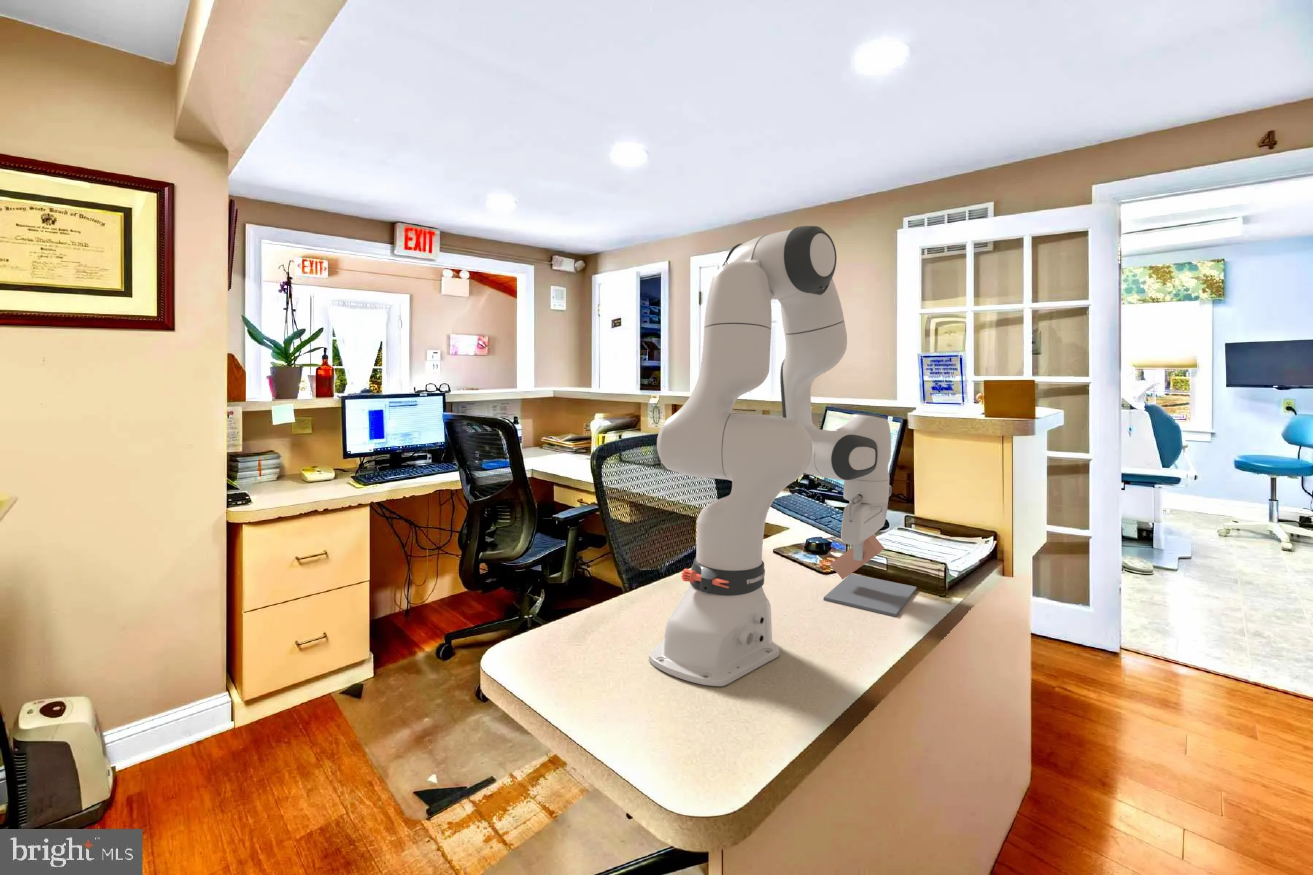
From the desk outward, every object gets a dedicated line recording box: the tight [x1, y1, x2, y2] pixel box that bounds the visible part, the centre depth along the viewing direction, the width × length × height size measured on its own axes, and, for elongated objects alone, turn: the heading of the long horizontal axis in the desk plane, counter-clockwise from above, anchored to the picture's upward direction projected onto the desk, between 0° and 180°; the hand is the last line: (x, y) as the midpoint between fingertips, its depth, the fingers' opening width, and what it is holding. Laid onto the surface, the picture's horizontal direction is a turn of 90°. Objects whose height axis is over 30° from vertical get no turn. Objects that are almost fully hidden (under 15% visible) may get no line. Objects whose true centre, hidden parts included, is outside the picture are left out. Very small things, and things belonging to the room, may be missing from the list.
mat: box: [823, 573, 917, 618], centre depth 119 cm, size 18×14×1 cm
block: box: [829, 535, 885, 581], centre depth 120 cm, size 4×4×10 cm
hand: (862, 556), depth 120 cm, fingers closed on block, 4 cm apart
